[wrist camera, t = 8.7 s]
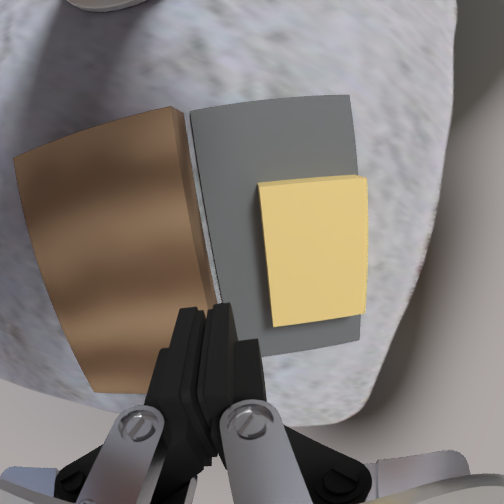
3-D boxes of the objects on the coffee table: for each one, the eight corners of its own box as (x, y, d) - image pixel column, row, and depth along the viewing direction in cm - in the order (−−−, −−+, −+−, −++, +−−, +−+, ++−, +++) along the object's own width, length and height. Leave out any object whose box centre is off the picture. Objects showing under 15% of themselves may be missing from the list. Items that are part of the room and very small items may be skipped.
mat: (190, 111, 19) (189, 111, 19) (347, 95, 19) (349, 94, 19) (235, 357, 26) (234, 359, 26) (358, 338, 26) (359, 339, 26)
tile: (366, 178, 19) (355, 174, 21) (259, 187, 19) (257, 182, 21) (365, 313, 22) (356, 299, 24) (273, 326, 22) (270, 311, 24)
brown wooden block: (43, 153, 20) (13, 157, 16) (183, 113, 19) (170, 106, 16) (108, 364, 26) (94, 392, 22) (229, 358, 26) (227, 389, 22)
